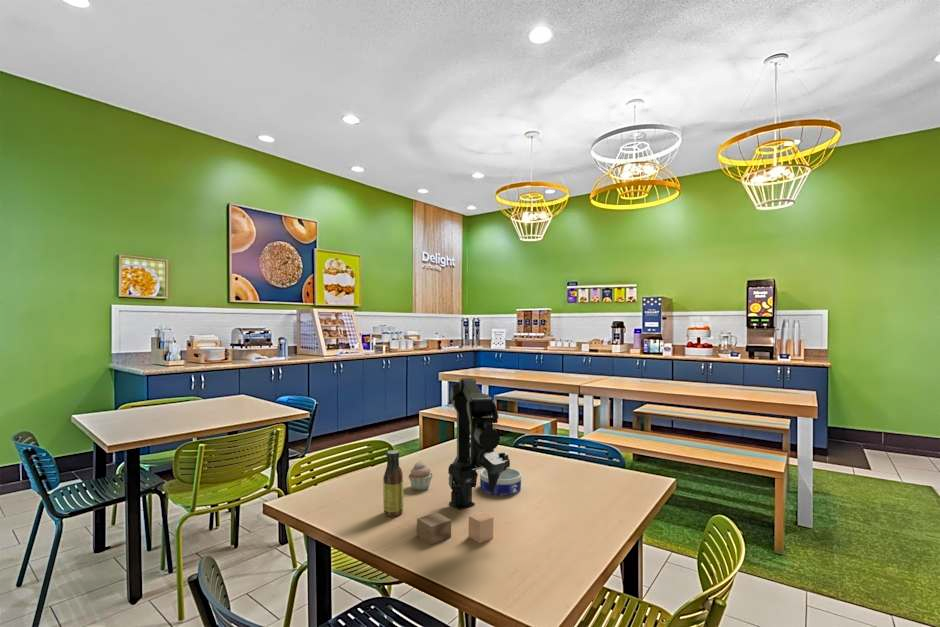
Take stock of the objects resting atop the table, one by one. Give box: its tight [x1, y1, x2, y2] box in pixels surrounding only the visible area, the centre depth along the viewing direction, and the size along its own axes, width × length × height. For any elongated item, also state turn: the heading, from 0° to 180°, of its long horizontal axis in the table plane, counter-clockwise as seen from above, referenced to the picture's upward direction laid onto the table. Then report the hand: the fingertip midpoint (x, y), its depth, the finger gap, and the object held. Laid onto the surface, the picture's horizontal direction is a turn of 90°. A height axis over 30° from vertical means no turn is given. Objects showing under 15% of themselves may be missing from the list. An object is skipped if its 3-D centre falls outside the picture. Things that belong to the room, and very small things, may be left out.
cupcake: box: [407, 460, 434, 491], centre depth 171 cm, size 9×9×10 cm
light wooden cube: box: [468, 511, 494, 544], centre depth 132 cm, size 5×5×6 cm
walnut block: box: [416, 512, 452, 545], centre depth 132 cm, size 7×7×5 cm
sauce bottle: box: [382, 449, 404, 517], centre depth 148 cm, size 7×6×20 cm
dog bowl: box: [479, 467, 522, 497], centre depth 171 cm, size 15×15×6 cm
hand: (479, 495), depth 131 cm, fingers open, 9 cm apart
